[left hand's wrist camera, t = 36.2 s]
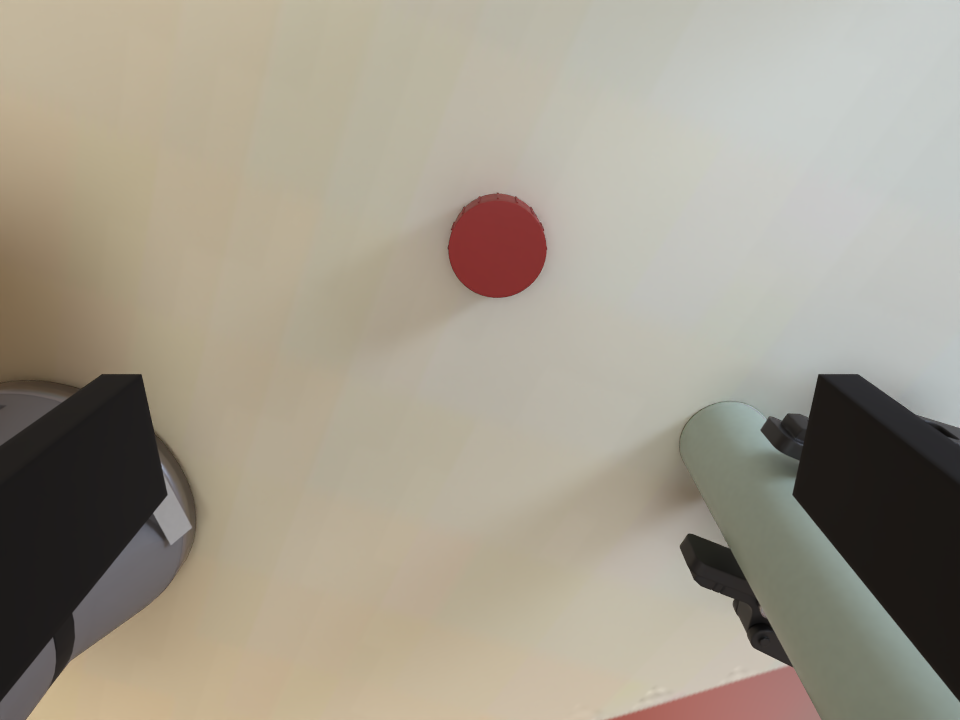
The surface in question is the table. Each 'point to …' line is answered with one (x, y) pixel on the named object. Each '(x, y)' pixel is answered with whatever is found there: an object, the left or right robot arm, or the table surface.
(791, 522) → the bottle
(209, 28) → the table surface
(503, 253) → the cap
